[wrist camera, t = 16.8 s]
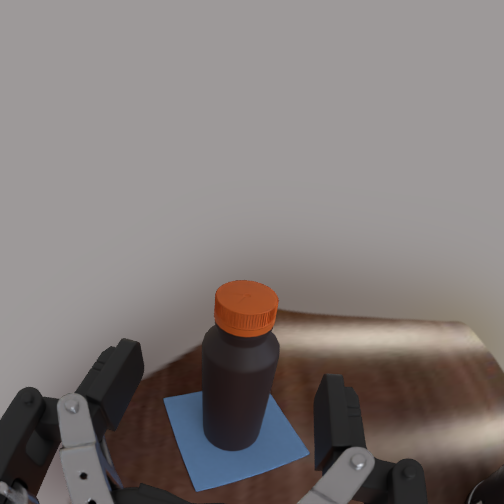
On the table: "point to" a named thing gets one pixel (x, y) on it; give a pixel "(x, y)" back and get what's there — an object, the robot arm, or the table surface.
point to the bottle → (238, 364)
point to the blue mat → (230, 462)
